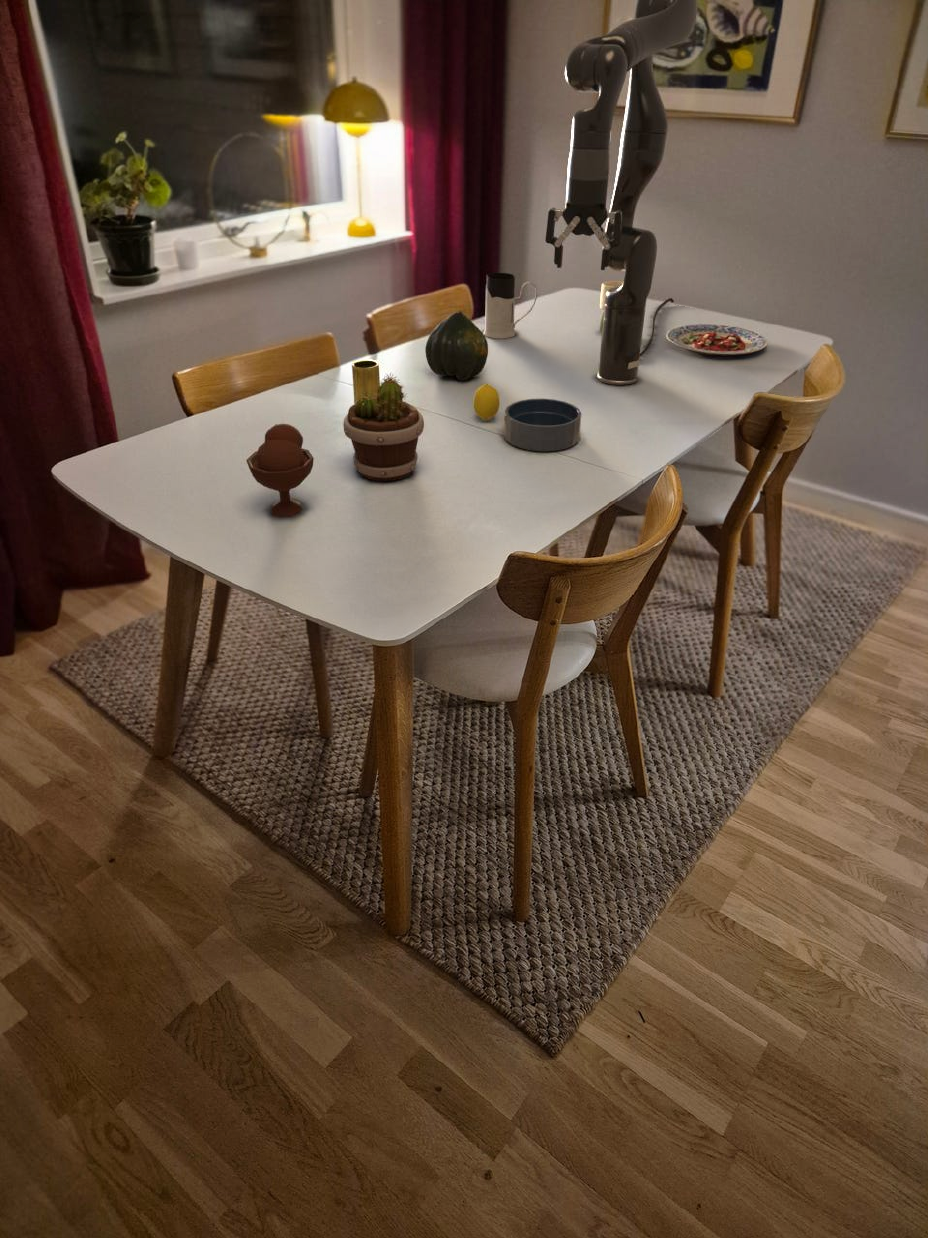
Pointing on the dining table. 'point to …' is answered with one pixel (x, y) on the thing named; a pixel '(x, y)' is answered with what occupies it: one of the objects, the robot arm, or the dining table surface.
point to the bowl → (542, 424)
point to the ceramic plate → (717, 339)
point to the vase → (365, 378)
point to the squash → (457, 348)
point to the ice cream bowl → (282, 466)
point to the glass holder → (501, 305)
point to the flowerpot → (384, 433)
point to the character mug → (604, 289)
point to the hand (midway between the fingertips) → (580, 268)
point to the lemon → (486, 402)
